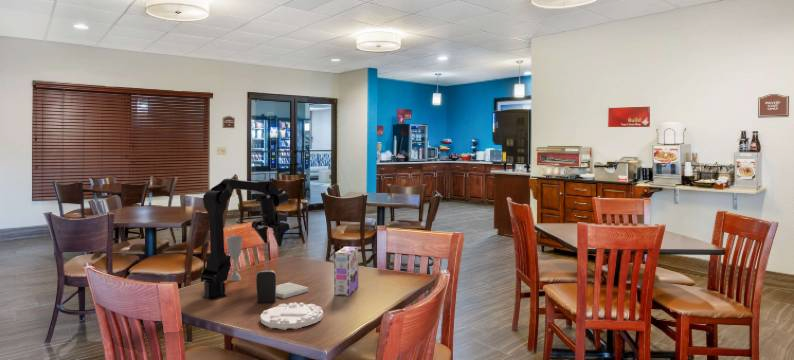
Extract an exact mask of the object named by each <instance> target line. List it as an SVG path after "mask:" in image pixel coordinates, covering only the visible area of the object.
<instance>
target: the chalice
mask: <svg viewBox="0 0 794 360" xmlns="http://www.w3.org/2000/svg"><path fill="white" fill-rule="evenodd" d="M225 240H226V242H227V243H226V244H227V246H226V249H227V252H228V255H229V256H230V257H231V260H233V268H232V269H233V273H232V274H231V275H230V276H229V281H230V282H236V281H238V282H239V281H241V280H242V278H241V275H240V274H239V273H238V272H237V269H238V267H237V265H238V264H237V259H239V257H240V256H241V253H242V249H243V243H242V242H243V236H241V235H233V236H226V238H225Z"/></svg>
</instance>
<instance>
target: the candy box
mask: <svg viewBox="0 0 794 360" xmlns="http://www.w3.org/2000/svg"><path fill="white" fill-rule="evenodd" d="M333 254H334V255H333V256H334V259H333V260H334V263H333V265H334V266H333V269H334V272H333V273H334V274H333V275H334V277H333V278H334V281H333V282H334V283H333V285H334V296H343V297H344V296H345V297H349V296H350V295H351V294H352V293H353V292H354V291H355V290H356V289H357V288H358V287H359V247H358V246H344V247H342V248H340V249H339V250H337V251H336V252H334V253H333Z"/></svg>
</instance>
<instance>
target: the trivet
mask: <svg viewBox="0 0 794 360" xmlns="http://www.w3.org/2000/svg"><path fill="white" fill-rule="evenodd" d="M307 292H309V287H307V286H305V285H300V284H297V283H294V282H285V283H281V284H278V285H277V284H276V298H277V297H278V298H280V299H286V298H291V297H294V296H297V295H300V294H304V293H307Z"/></svg>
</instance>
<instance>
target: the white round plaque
mask: <svg viewBox="0 0 794 360" xmlns="http://www.w3.org/2000/svg"><path fill="white" fill-rule="evenodd" d="M323 317H324V311H323V308H322V307H321V306H319V305H316V304H315V303H309V304H305V302H299V303H298V302H288V304H286V303H280V304H278V305H277V306H275V307H270V308H269V309H265V310H263V312H262V313H261V314H260V324H262V325H264V326H265V327H268V328H270V329H272V328H273V329H278V330H287V329H293V330H297V329H298V328H300V329H302V327H307V326H310V325H313V324H316V323H319V322H320V321H322V318H323ZM318 321H319V322H318Z"/></svg>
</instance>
